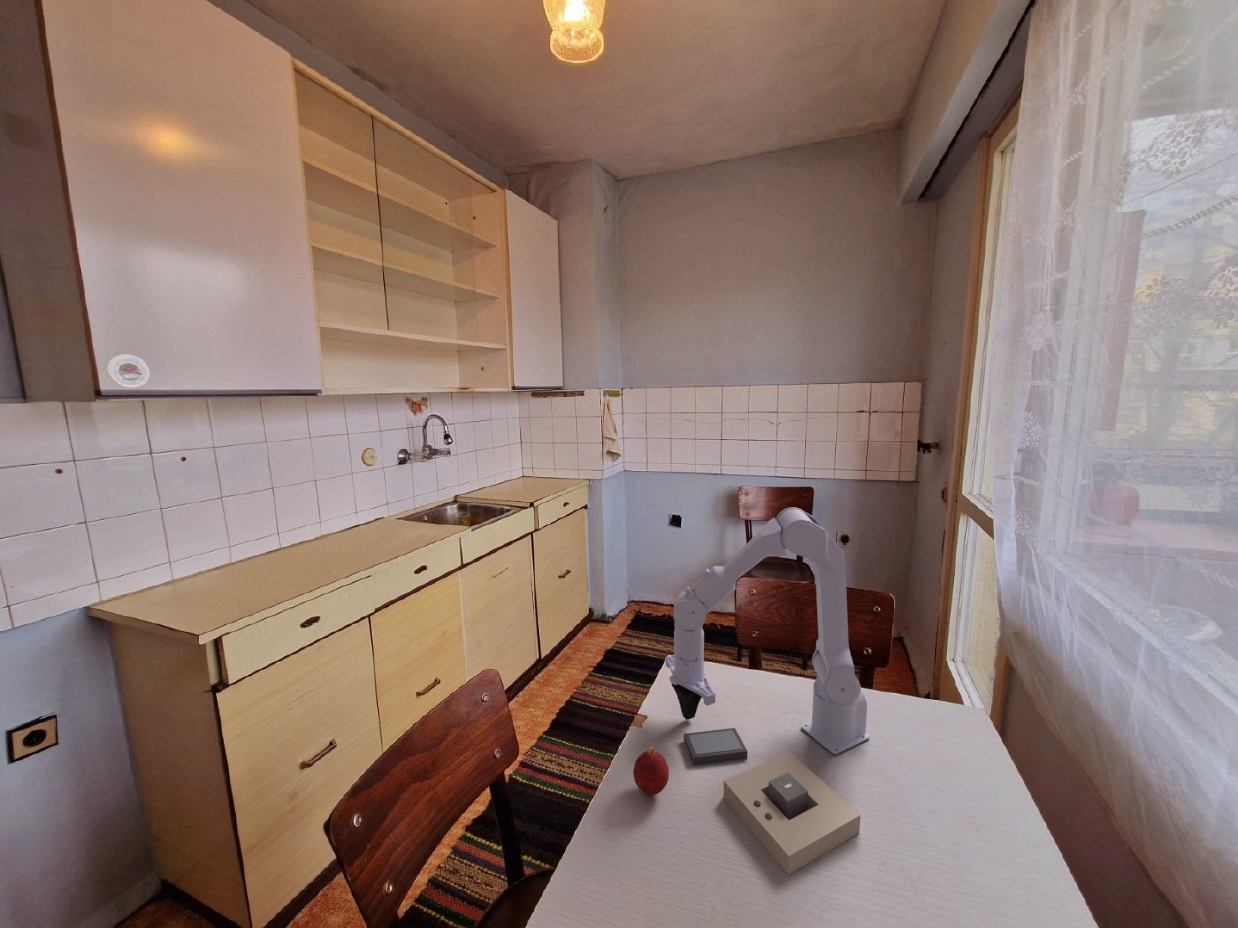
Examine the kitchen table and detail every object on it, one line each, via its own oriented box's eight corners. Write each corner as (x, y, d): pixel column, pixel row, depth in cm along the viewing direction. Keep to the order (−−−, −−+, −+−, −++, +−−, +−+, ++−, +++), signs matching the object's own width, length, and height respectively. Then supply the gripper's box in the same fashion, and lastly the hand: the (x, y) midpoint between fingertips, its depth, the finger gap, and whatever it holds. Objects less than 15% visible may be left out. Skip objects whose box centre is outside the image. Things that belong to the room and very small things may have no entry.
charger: (787, 800, 76) (788, 771, 75) (806, 820, 72) (808, 790, 71) (768, 809, 74) (768, 780, 73) (786, 830, 71) (788, 800, 70)
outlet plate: (788, 766, 82) (789, 750, 82) (859, 832, 70) (860, 813, 69) (723, 796, 77) (723, 779, 76) (788, 875, 64) (789, 855, 64)
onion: (667, 810, 74) (666, 765, 73) (630, 804, 75) (630, 760, 74) (670, 780, 80) (670, 738, 79) (636, 775, 81) (636, 734, 80)
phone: (734, 737, 90) (734, 727, 90) (747, 760, 85) (747, 750, 84) (683, 743, 89) (683, 733, 89) (692, 767, 83) (693, 757, 83)
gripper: (652, 640, 97) (653, 701, 99) (692, 678, 84) (692, 747, 86) (681, 632, 100) (681, 691, 102) (725, 668, 87) (724, 734, 89)
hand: (688, 716), depth 94 cm, fingers closed
